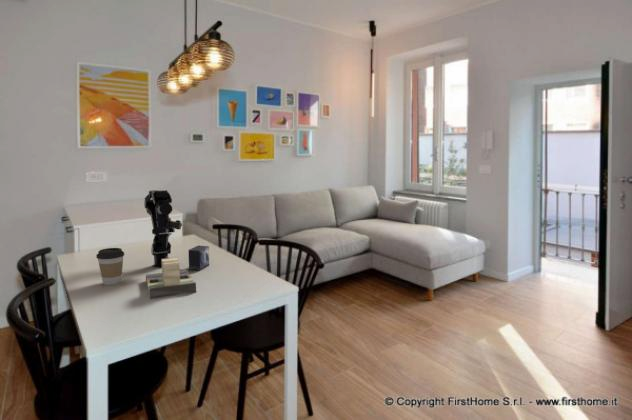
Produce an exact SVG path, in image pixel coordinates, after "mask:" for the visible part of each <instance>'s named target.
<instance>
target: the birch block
mask: <svg viewBox="0 0 632 420" xmlns="http://www.w3.org/2000/svg"><path fill="white" fill-rule="evenodd" d="M161 273H162V278H163V284H164V286H172V285H179V284H180V262H179V260H178V258H177V256H176V257H169V258H166V259H162V267H161Z"/></svg>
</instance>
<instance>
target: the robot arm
mask: <svg viewBox="0 0 632 420" xmlns="http://www.w3.org/2000/svg"><path fill="white" fill-rule="evenodd" d="M143 201H144V209H145V210H146V213H147V215H150V220H151V224H152V230H151V234H152V235H154V237H153V240H152V244H151V248H150V249H151V253H150V254H151V255H152V256H153V260H154V261H153V263H154V264H152V267H156V268H162V259H166V258H170V257H169V255H171V253H172V251H171V249H172V244H171V242H170V241H169V238H170V236H171V235H172V234H173V233H175V232H176V231H175V230H181V228H182V226H183V223H182V222H181V220H178V219H176V220H175V221H173V220H172V219H171V217H170V214H172V212H173V205H172V202H173V199H172V196H171V194H170V192H169V191H168V190H163V189H162V190H158V189H156V190H154V189H153V190H149V191H148V194H147V195H146V196H145V197H144V200H143Z"/></svg>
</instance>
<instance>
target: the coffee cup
mask: <svg viewBox="0 0 632 420" xmlns="http://www.w3.org/2000/svg"><path fill="white" fill-rule="evenodd" d="M124 256H125V251H123V249H122V248H120V247H108V248H102V249H99V250H98V253H97V254H96V256H95V257H96V259H97V261H98V266H99V271H100V274H101V281H102V283H103V285H104V286H113V285H114V286H115V285H118V284H120V283H122V279H123V278H122V277H123V264H124Z"/></svg>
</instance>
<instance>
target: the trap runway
mask: <svg viewBox="0 0 632 420" xmlns="http://www.w3.org/2000/svg"><path fill="white" fill-rule="evenodd" d="M179 270H180V269H179ZM145 283H146V284H145V285H146V286H147V287H146V288H147V292H148V295H149V296H148V297H149V299H150V300H151V299H159V298H166V297H171V296H179V295H185V294H187V295H188V294H193V293H197V282H196V281H194V280H193V278H192V277H191V275H190V273H189V270H187V269H183V270H180V284H179V285H172V286H164V284H163V278H162V272H157V273H150V274H149V273H148V274H145Z"/></svg>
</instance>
